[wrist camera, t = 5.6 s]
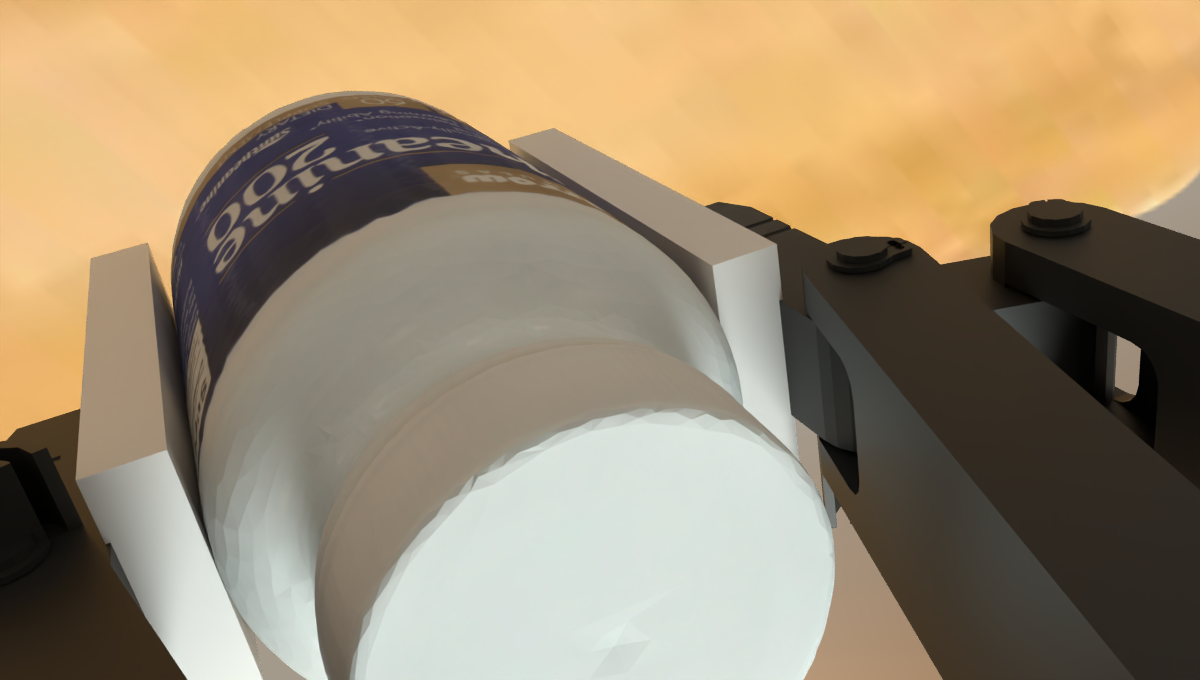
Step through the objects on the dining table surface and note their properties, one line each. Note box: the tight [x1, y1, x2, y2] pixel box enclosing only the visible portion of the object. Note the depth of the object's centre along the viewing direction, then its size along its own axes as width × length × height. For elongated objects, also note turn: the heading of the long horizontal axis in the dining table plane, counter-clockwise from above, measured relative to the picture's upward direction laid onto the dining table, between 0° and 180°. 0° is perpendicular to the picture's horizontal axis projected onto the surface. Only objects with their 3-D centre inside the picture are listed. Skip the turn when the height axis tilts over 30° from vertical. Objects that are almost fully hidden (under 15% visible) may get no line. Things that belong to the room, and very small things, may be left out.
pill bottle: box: [171, 91, 835, 680], centre depth 12 cm, size 5×5×10 cm
